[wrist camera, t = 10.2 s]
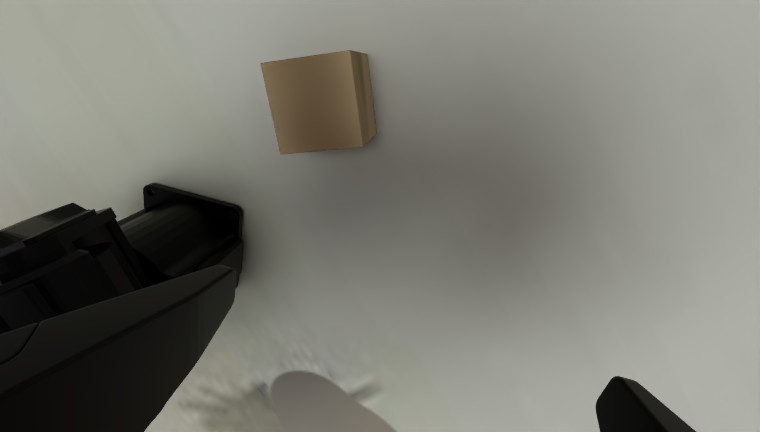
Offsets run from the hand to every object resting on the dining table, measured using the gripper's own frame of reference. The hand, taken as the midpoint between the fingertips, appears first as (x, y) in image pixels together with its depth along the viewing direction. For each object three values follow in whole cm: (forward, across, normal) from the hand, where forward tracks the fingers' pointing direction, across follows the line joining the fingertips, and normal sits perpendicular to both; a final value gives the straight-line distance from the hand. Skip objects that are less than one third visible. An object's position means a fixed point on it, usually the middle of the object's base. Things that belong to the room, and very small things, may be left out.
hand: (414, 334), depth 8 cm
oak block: (+13, +6, -3) cm, 15 cm away
